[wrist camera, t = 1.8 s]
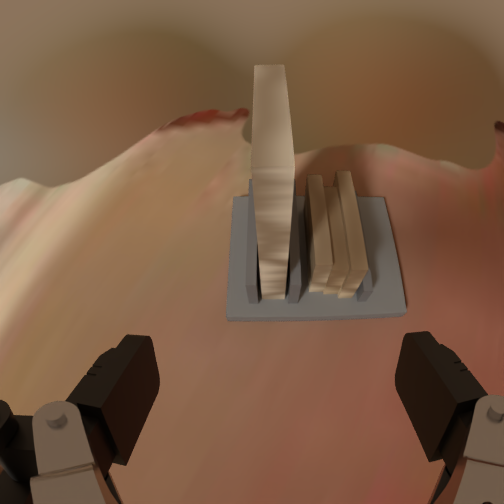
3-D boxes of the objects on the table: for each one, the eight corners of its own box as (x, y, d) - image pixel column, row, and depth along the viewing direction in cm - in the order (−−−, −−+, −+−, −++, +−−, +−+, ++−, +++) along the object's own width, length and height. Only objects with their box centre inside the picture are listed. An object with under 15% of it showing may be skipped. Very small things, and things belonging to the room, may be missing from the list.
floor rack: (380, 204, 42) (393, 172, 36) (402, 316, 34) (424, 295, 29) (234, 203, 43) (229, 170, 38) (227, 320, 35) (218, 300, 30)
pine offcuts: (340, 208, 40) (350, 170, 34) (352, 297, 34) (368, 269, 28) (303, 208, 40) (307, 170, 34) (309, 298, 35) (316, 270, 28)
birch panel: (282, 208, 41) (284, 64, 23) (284, 299, 35) (294, 166, 17) (262, 208, 41) (254, 65, 23) (262, 299, 35) (250, 166, 17)
